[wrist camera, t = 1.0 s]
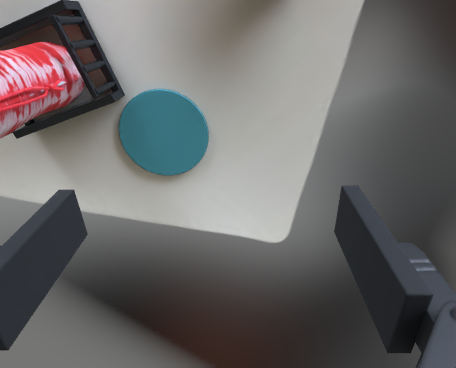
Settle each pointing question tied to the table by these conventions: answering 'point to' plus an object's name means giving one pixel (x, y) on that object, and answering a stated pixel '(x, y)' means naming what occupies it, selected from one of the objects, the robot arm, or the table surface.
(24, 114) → the water bottle
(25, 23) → the rack
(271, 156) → the table surface
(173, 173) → the mat
